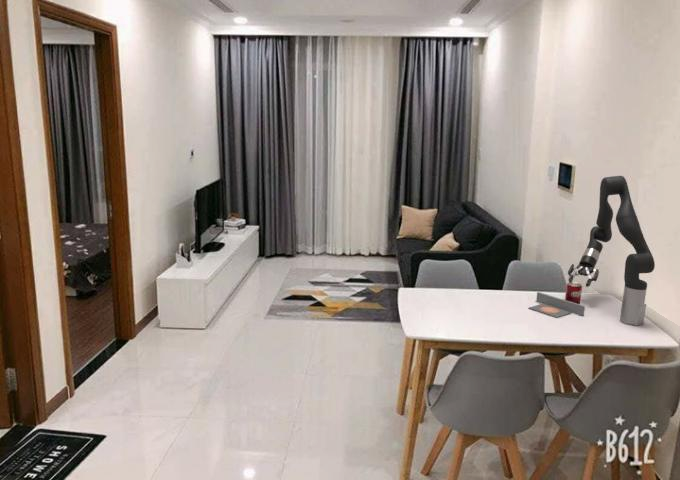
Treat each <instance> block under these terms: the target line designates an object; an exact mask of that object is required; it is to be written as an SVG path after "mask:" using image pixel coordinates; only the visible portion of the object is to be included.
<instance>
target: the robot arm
mask: <svg viewBox="0 0 680 480" xmlns="http://www.w3.org/2000/svg"><path fill="white" fill-rule="evenodd" d="M616 195H619V197H620V198H619V199H620V205H619V208H618V209H617V213H616V215H615V222H616V226H617V229H618V231H619V233H620V235H622V237H623V238H624V239H625V240H626V241H627V242H628V243H629V244H630V245H631V246H632V247H633V249H634V250H635V253H630V254H628V255H627V257H626V259H625V262H624V263H625V264H624V273H623V274H624V275H623V279H624V280H623V281H624V287H623V288H624V289H623V295H622V301H621V308H620V309H621V310H620V316H619V321H620V322H621V323H623V324H625V325H626V324H627V325H631V326H635V327H639V326H641V325H643V324H644V322H645V315H646V307H647V304H646V303H645V302H646V296H647V295H646V294H647V289H648V282H647V281H645V280H642V279H640V274H650V273H653V272H654V270H655V265H656V264H655V259H654V257H653V253H652V252H651V249H650V248H649V246H648V244H647V241H646V239H645V237H644V236H645V235H644V234H643V231H642V229H641V225H640V222H639V219H638V216H637V214H636V211H635V209H634V208H635V207H634V205H633V201H632V199H631V194H630V190H629V185H628V182H627V180H626V178H625V176H624V175H615V176H614V175H612V176H606V177H603V178H602V179H601V181H600V186H599V200H598V201H599V205H598V206H599V207H598V213H597V219H596V223H595V224H596V225H595V226H593V227H592V228H591V229H590V232H589V242H588V244H587V247H586V249H585V251H584V252H583V253H582V256H581V258H580V260H579V263H578V265H575V264H574V263H573V264H571V265H570V267H569V269H568V271H567V274H568V276H569V277H568V279H567V280H568V283H570V282H573V280H574V278H575V277H577V276H584V277H588V279H587V280H586V283H585V287H586V288H588V287H590V286H591V284H592V282H597V279H598V277H599V274H600V271H599V269H598V268H595V267H596V265H597V263H598V260H599V258H600V254H601V253H602V250H603V248H604V247H603V246H604V245H603V244H602V243H608V242H609V241H611V240H612V236H613V231H612V222H613V217H614V211H613V208H612V206H611V204H610V203H609V200H608V199H609V196H616ZM591 274H594V275H593V276H591Z"/></svg>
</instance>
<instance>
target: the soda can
mask: <svg viewBox="0 0 680 480" xmlns="http://www.w3.org/2000/svg"><path fill="white" fill-rule="evenodd" d="M582 289H583V285H582V284H581V283H579V282H573V281H572V282H570V283H569V282H568V283H566V288H565V294H564V295H565V296H564V300H567V301H570V302H573V303H577V304H580V305H581V299H582V292H583V290H582Z"/></svg>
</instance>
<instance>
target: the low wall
mask: <svg viewBox="0 0 680 480" xmlns="http://www.w3.org/2000/svg"><path fill="white" fill-rule="evenodd" d="M535 302H536V303H540V304H546V305H549V306H552V307H555V308H559V309H562V310H565V311H568V312H571V314H573V315H574V314H575V315H577V316H580V317H584V315H585V308H586V306H585V305H584V304H583V305H582V304H581V303H580V304H577V303H573V302H570V301H567V300H565V299H562V298H559V297H556V296H553V295H549V294H548V293H547V294H546V293H544V292H543V293H542V292H540V291H537V292H536V300H535Z"/></svg>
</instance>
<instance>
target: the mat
mask: <svg viewBox="0 0 680 480" xmlns="http://www.w3.org/2000/svg"><path fill="white" fill-rule="evenodd" d="M528 310H531V311H534V312H537V313H540V314H543V315H545V316H548V317H549V316H550V317H552V318H555V319H560V318H563V317H566V316H568V315H571V314H572V313H571V312H568V311H565V310H562V309H559V308H555V307H552V306H549V305H546V304H542V303H540V304H537V305H534V306H530V307H528Z"/></svg>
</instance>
